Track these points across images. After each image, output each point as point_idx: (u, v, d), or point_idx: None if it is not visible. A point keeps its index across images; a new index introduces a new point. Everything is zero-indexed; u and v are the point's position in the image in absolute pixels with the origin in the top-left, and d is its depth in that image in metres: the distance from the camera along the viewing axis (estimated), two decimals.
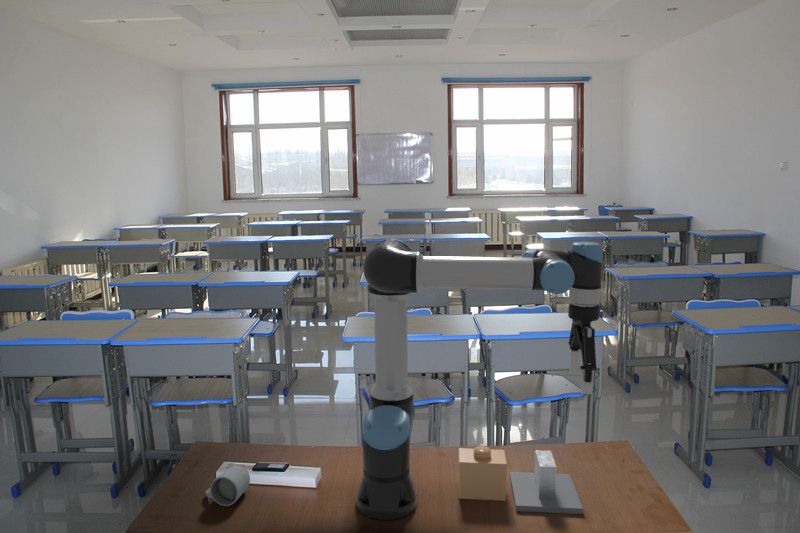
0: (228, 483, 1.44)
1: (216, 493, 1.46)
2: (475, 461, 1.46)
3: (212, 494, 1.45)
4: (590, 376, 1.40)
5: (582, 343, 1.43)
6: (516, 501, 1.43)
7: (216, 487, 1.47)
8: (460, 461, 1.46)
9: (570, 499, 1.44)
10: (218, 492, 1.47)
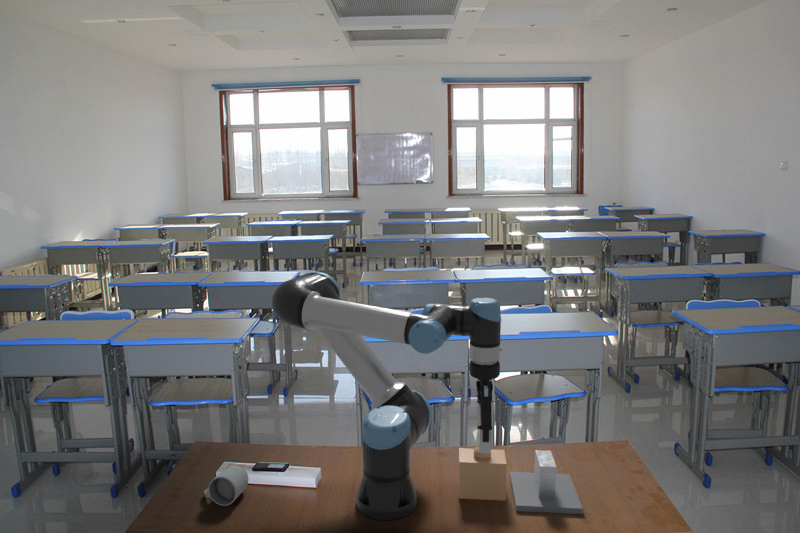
0: (226, 483, 1.44)
1: (214, 493, 1.46)
2: (475, 461, 1.46)
3: (210, 494, 1.45)
4: (487, 436, 1.38)
5: (481, 402, 1.41)
6: (516, 501, 1.43)
7: (214, 487, 1.47)
8: (460, 461, 1.46)
9: (570, 499, 1.44)
10: (216, 492, 1.47)
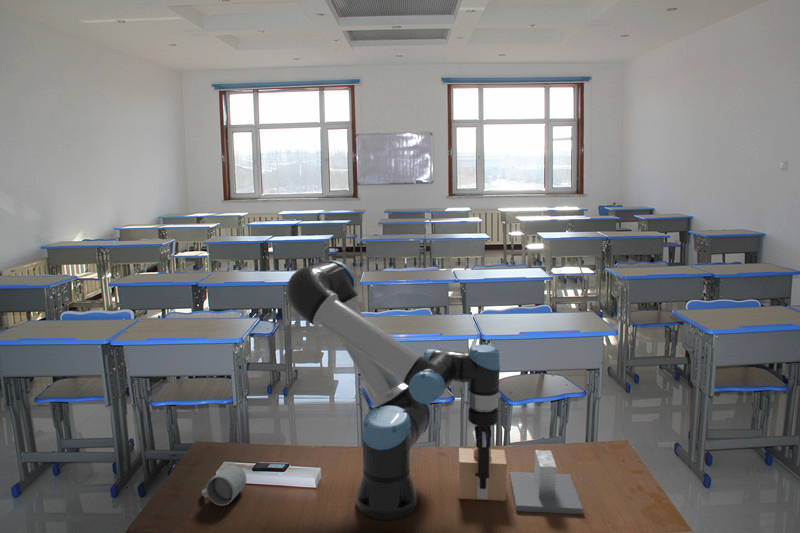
0: (224, 483, 1.44)
1: (212, 493, 1.46)
2: (475, 461, 1.46)
3: (208, 494, 1.45)
4: (484, 483, 1.44)
5: (479, 449, 1.45)
6: (516, 501, 1.43)
7: (212, 487, 1.47)
8: (460, 461, 1.46)
9: (570, 499, 1.44)
10: (214, 492, 1.47)
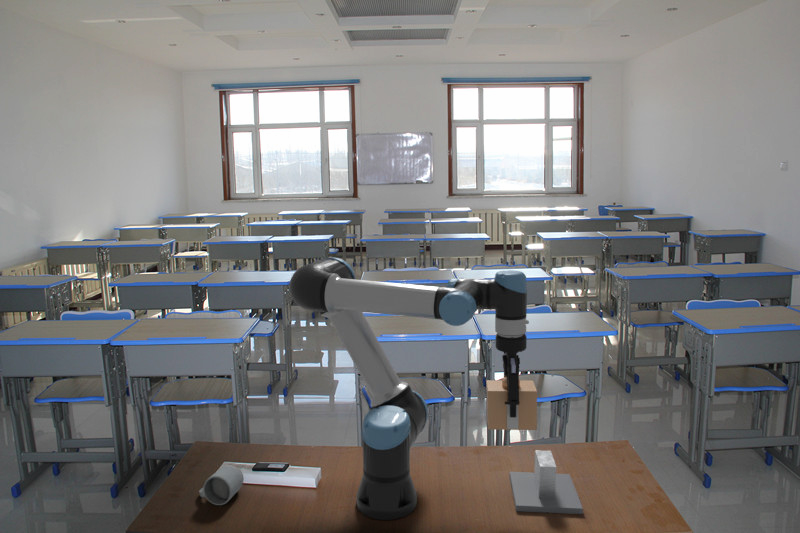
0: (221, 482, 1.45)
1: (209, 492, 1.46)
2: (504, 390, 1.42)
3: (205, 493, 1.45)
4: (514, 411, 1.40)
5: (508, 377, 1.41)
6: (516, 501, 1.43)
7: (209, 486, 1.47)
8: (489, 390, 1.42)
9: (570, 499, 1.44)
10: (211, 491, 1.47)
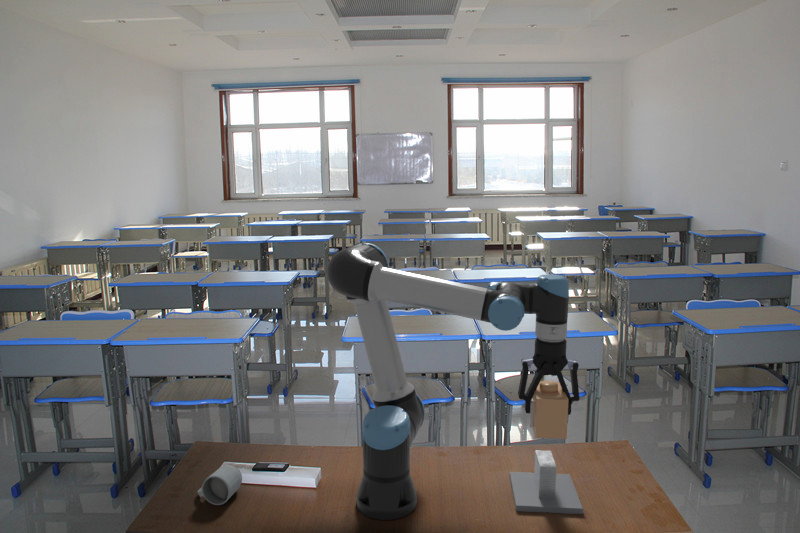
0: (219, 482, 1.45)
1: (208, 492, 1.46)
2: None
3: (204, 493, 1.45)
4: (525, 406, 1.45)
5: (534, 375, 1.45)
6: (516, 501, 1.43)
7: (208, 486, 1.47)
8: (531, 381, 1.50)
9: (570, 499, 1.44)
10: (210, 491, 1.47)
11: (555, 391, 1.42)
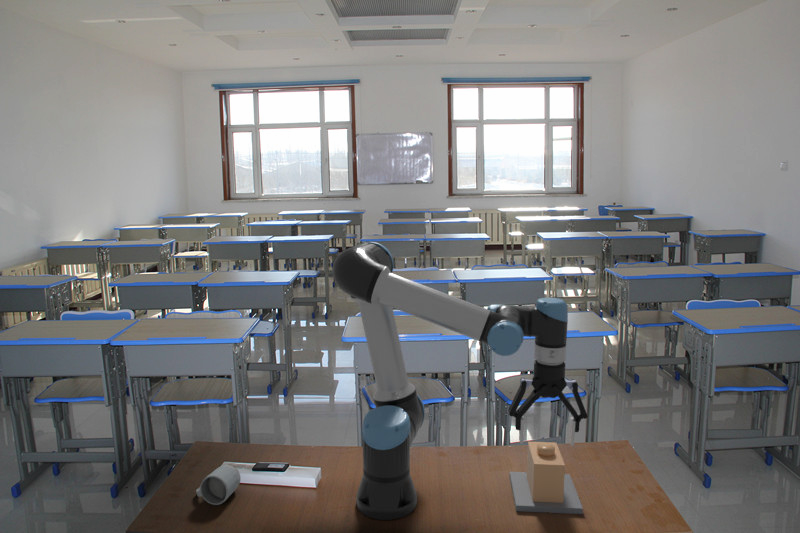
0: (218, 482, 1.45)
1: (206, 492, 1.46)
2: (532, 448, 1.49)
3: (202, 493, 1.45)
4: (515, 423, 1.46)
5: (530, 394, 1.45)
6: (516, 501, 1.43)
7: (206, 486, 1.47)
8: (529, 442, 1.53)
9: (570, 499, 1.44)
10: (208, 491, 1.47)
11: (552, 455, 1.45)
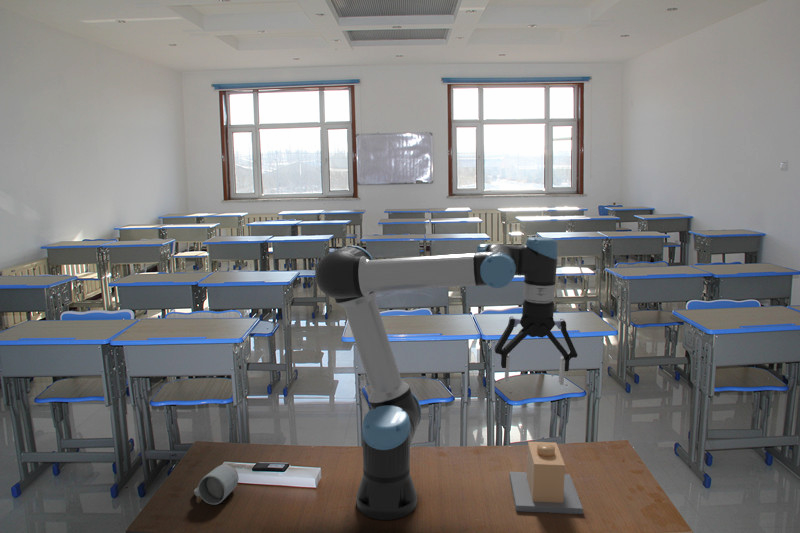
0: (216, 482, 1.45)
1: (204, 492, 1.47)
2: (532, 448, 1.49)
3: (200, 493, 1.45)
4: (501, 361, 1.46)
5: (518, 333, 1.46)
6: (516, 501, 1.43)
7: (204, 486, 1.47)
8: (529, 442, 1.53)
9: (570, 499, 1.44)
10: (206, 491, 1.47)
11: (552, 455, 1.45)
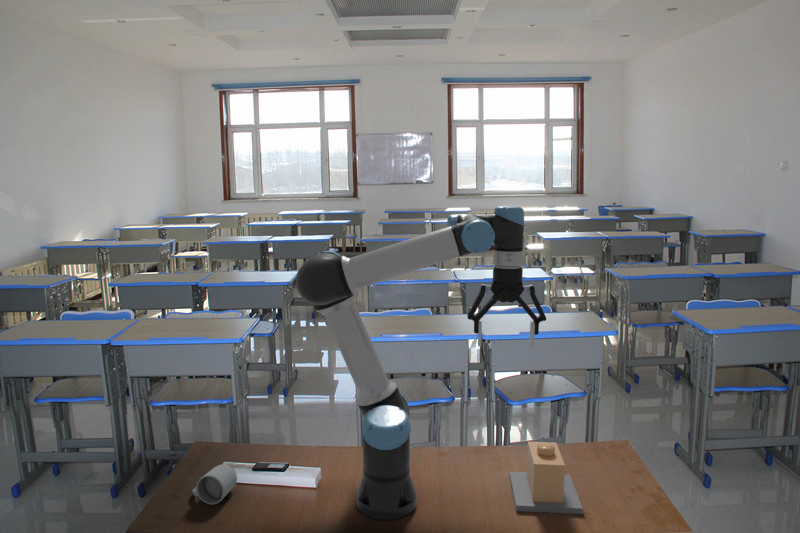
0: (214, 481, 1.45)
1: (202, 491, 1.47)
2: (532, 448, 1.49)
3: (198, 492, 1.45)
4: (474, 327, 1.52)
5: (489, 300, 1.51)
6: (516, 501, 1.43)
7: (203, 485, 1.47)
8: (529, 442, 1.53)
9: (570, 499, 1.44)
10: (205, 490, 1.47)
11: (552, 455, 1.45)
